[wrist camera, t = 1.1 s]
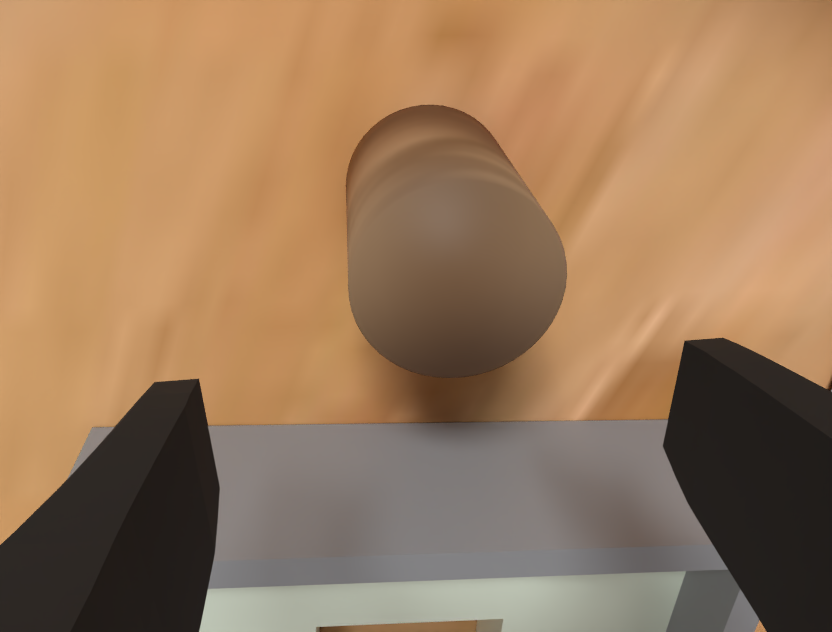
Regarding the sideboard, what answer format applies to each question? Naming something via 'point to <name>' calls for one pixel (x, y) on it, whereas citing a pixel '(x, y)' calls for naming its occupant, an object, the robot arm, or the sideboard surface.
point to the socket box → (459, 529)
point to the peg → (447, 246)
